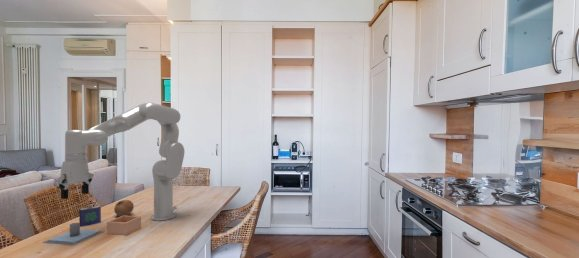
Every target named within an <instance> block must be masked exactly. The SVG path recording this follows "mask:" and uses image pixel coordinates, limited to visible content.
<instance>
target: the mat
mask: <svg viewBox="0 0 579 258" xmlns="http://www.w3.org/2000/svg"><path fill="white" fill-rule="evenodd" d="M98 231H99V233H97V234H95V235H93V236H90V237H88V238H86V239H83V240H81V241H79V242H77V243H74V244H71V243H59V242H48V240H49V239H48V240H45V241H42V244H49V245H51V244H53V245H62V246H63V245H64V246H75V245H78V244H81V243H82V242H85V241H87V240H89V239H92V238H94V237H96V236H98V235H101V234H103V233H104V231H103V230H101V231H100V230H98Z"/></svg>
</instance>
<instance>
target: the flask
mask: <svg viewBox="0 0 579 258" xmlns="http://www.w3.org/2000/svg"><path fill="white" fill-rule="evenodd" d="M101 207H102V206H100V205H97V206H93V204H89V206H87V207H82V208H80V209H79V215H78V216H79V217H78V218H79V219H78V220H79V222H78V223H80V228H81V227H87V226H91V225H97V224H101V223H102V208H101Z"/></svg>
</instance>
